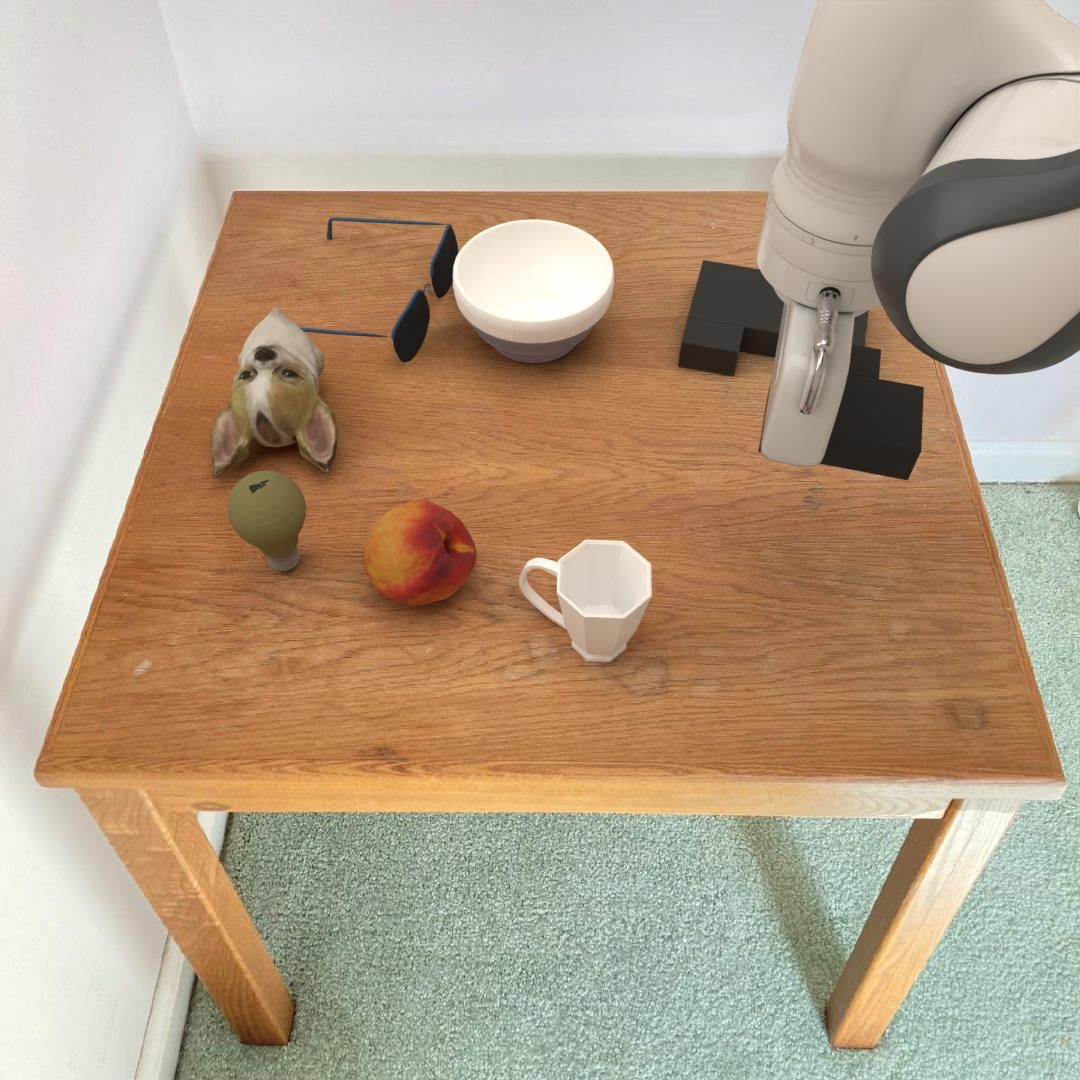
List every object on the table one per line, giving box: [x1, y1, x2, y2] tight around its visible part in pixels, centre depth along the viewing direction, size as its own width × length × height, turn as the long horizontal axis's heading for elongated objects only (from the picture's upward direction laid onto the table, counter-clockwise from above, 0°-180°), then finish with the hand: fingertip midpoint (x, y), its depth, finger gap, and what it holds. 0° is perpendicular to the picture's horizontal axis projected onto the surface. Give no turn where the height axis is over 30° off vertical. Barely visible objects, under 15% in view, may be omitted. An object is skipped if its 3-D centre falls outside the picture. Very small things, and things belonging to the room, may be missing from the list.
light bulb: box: [227, 470, 307, 572], centre depth 77 cm, size 6×6×10 cm
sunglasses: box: [299, 216, 459, 364], centre depth 99 cm, size 17×15×5 cm
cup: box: [518, 539, 653, 663], centre depth 75 cm, size 7×10×8 cm
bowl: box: [452, 218, 615, 364], centre depth 94 cm, size 14×14×8 cm
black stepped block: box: [758, 344, 925, 481], centre depth 71 cm, size 10×9×3 cm
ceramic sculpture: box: [209, 306, 339, 478], centre depth 87 cm, size 11×9×15 cm
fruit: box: [362, 500, 478, 607], centre depth 77 cm, size 8×8×8 cm
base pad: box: [677, 259, 870, 377], centre depth 96 cm, size 16×12×3 cm
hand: (788, 407), depth 70 cm, fingers closed on black stepped block, 6 cm apart
